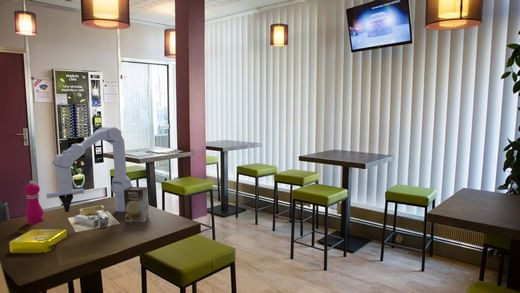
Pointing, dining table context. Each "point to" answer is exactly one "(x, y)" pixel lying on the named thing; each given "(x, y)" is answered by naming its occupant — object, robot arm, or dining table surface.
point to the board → (83, 227)
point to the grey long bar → (102, 218)
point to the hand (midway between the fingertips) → (67, 211)
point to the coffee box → (136, 204)
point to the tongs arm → (87, 220)
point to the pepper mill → (33, 204)
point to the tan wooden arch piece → (91, 210)
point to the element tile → (37, 241)
